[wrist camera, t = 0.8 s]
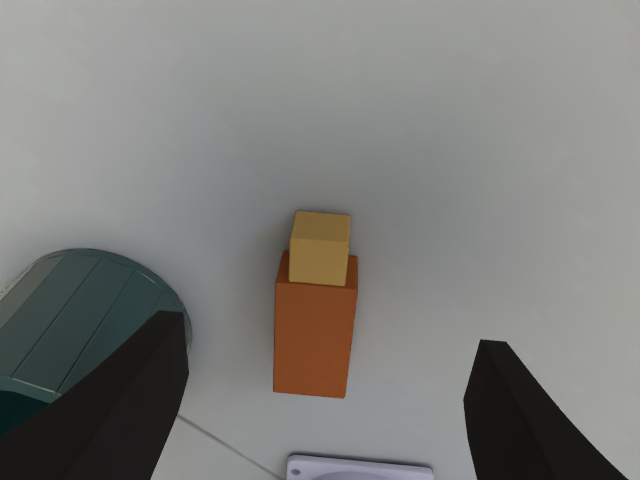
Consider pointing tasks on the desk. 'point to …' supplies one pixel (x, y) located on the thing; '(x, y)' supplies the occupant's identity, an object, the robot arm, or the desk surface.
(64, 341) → the cup
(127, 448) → the robot arm
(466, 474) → the desk surface
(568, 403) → the desk surface
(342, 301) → the tan orange collared block
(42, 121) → the desk surface
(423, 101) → the desk surface
